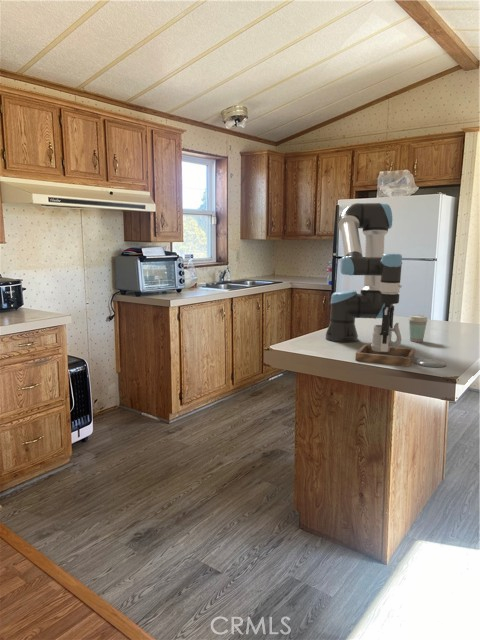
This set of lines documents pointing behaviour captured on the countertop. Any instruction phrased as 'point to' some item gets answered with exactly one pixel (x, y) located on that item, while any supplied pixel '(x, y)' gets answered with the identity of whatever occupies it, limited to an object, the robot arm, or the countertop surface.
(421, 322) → the coffee cup
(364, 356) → the walnut tray
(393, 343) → the mug
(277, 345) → the countertop surface
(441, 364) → the grey flat disc
